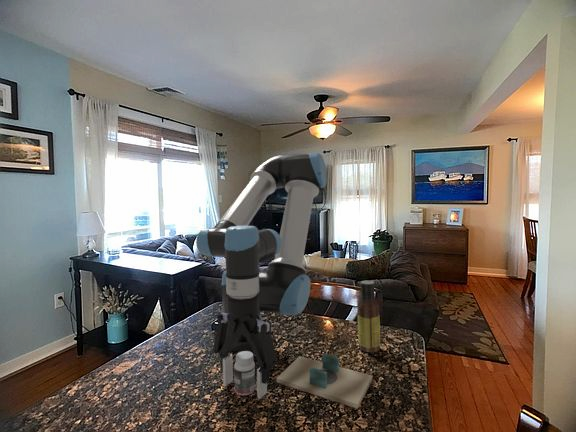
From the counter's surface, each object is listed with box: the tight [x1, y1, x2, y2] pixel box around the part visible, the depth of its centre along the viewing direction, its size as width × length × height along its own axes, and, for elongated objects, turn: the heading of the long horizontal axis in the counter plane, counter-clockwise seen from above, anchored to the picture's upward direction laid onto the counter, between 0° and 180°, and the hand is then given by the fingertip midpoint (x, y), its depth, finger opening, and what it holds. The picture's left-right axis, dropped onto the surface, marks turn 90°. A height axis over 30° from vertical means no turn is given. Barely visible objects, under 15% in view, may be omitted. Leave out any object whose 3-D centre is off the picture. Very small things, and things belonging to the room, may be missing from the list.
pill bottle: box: [233, 350, 256, 396], centre depth 74 cm, size 5×5×8 cm
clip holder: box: [276, 352, 373, 410], centre depth 77 cm, size 20×12×4 cm, turn 61°
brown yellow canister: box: [357, 280, 381, 354], centre depth 93 cm, size 7×6×20 cm
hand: (244, 388), depth 74 cm, fingers open, 9 cm apart
